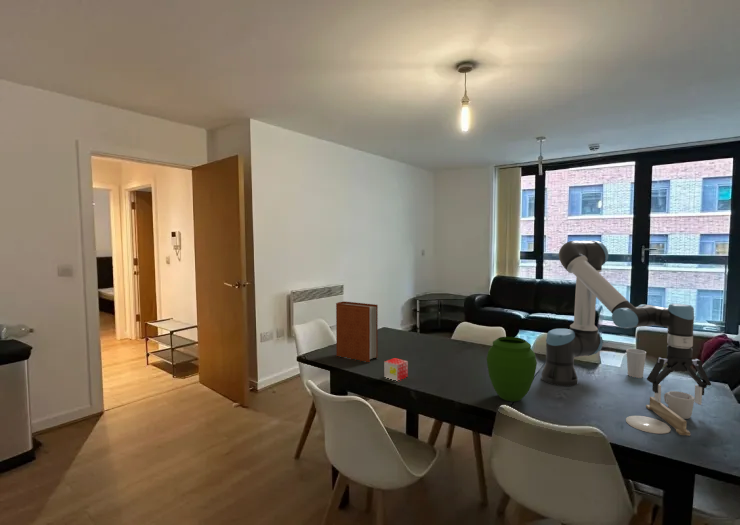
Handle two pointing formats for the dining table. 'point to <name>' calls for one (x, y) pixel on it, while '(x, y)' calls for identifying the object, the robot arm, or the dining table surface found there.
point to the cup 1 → (635, 362)
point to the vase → (511, 367)
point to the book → (357, 330)
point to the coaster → (648, 424)
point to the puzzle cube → (396, 369)
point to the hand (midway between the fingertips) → (677, 402)
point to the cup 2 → (680, 403)
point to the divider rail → (668, 416)
